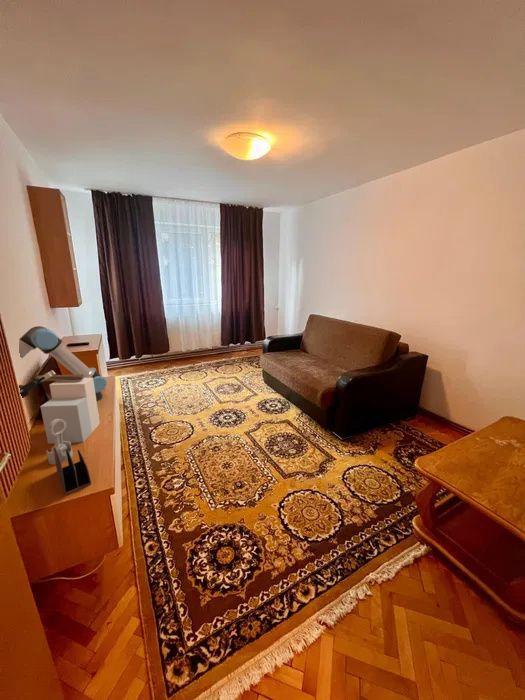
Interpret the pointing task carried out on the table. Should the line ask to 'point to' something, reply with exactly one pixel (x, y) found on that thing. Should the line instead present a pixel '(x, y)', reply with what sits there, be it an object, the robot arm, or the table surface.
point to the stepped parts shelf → (72, 409)
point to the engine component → (59, 443)
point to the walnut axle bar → (63, 377)
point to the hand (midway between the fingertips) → (51, 373)
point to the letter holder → (72, 473)
